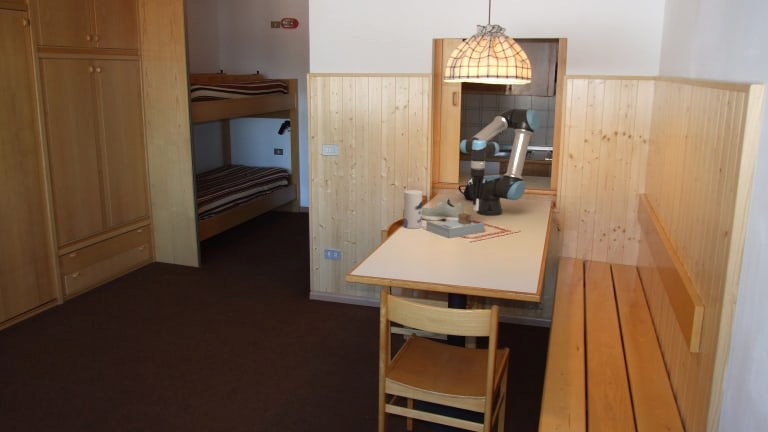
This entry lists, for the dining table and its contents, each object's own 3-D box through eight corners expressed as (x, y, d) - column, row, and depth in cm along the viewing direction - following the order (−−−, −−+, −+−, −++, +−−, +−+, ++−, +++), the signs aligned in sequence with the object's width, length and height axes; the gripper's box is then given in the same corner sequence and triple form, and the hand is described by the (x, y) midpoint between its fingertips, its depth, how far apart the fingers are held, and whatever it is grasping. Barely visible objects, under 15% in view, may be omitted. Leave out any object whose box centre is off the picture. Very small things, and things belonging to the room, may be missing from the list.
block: (465, 221, 369) (465, 212, 368) (471, 223, 365) (471, 214, 364) (458, 222, 366) (458, 214, 365) (464, 224, 362) (464, 215, 361)
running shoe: (421, 215, 396) (422, 193, 393) (468, 221, 383) (469, 198, 380) (414, 219, 387) (414, 196, 383) (461, 225, 373) (462, 202, 370)
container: (420, 229, 364) (421, 193, 359) (402, 228, 366) (402, 192, 361) (422, 224, 373) (423, 190, 368) (405, 223, 375) (406, 189, 370)
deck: (460, 224, 375) (460, 215, 374) (483, 231, 359) (484, 223, 358) (426, 229, 362) (426, 221, 361) (449, 238, 346) (449, 229, 345)
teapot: (454, 200, 438) (455, 181, 435) (461, 195, 452) (462, 177, 449) (491, 203, 429) (492, 184, 426) (497, 198, 443) (498, 180, 440)
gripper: (473, 170, 356) (471, 212, 361) (491, 168, 363) (489, 210, 368) (464, 168, 362) (462, 210, 368) (482, 166, 369) (480, 207, 375)
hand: (475, 210), depth 368 cm, fingers closed
